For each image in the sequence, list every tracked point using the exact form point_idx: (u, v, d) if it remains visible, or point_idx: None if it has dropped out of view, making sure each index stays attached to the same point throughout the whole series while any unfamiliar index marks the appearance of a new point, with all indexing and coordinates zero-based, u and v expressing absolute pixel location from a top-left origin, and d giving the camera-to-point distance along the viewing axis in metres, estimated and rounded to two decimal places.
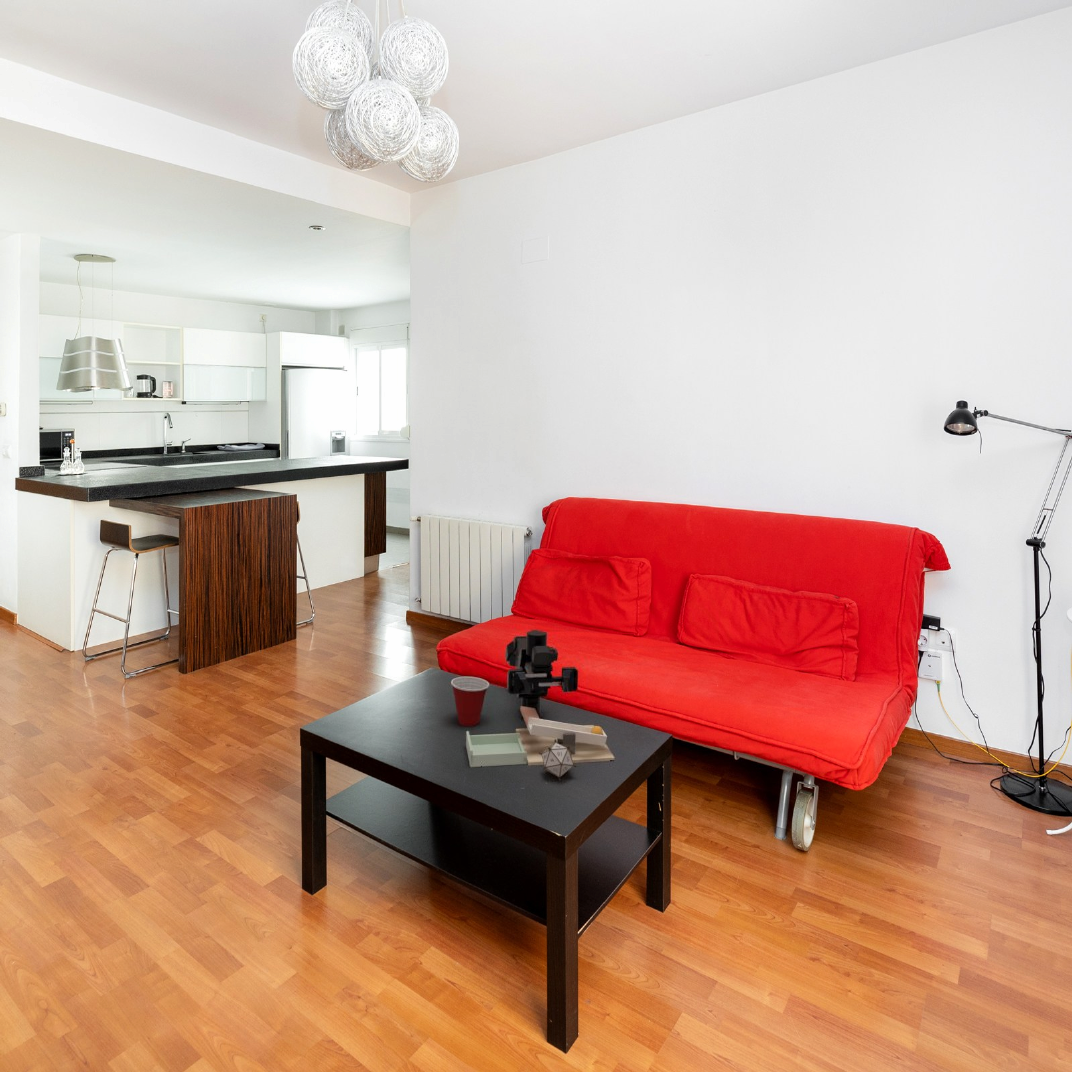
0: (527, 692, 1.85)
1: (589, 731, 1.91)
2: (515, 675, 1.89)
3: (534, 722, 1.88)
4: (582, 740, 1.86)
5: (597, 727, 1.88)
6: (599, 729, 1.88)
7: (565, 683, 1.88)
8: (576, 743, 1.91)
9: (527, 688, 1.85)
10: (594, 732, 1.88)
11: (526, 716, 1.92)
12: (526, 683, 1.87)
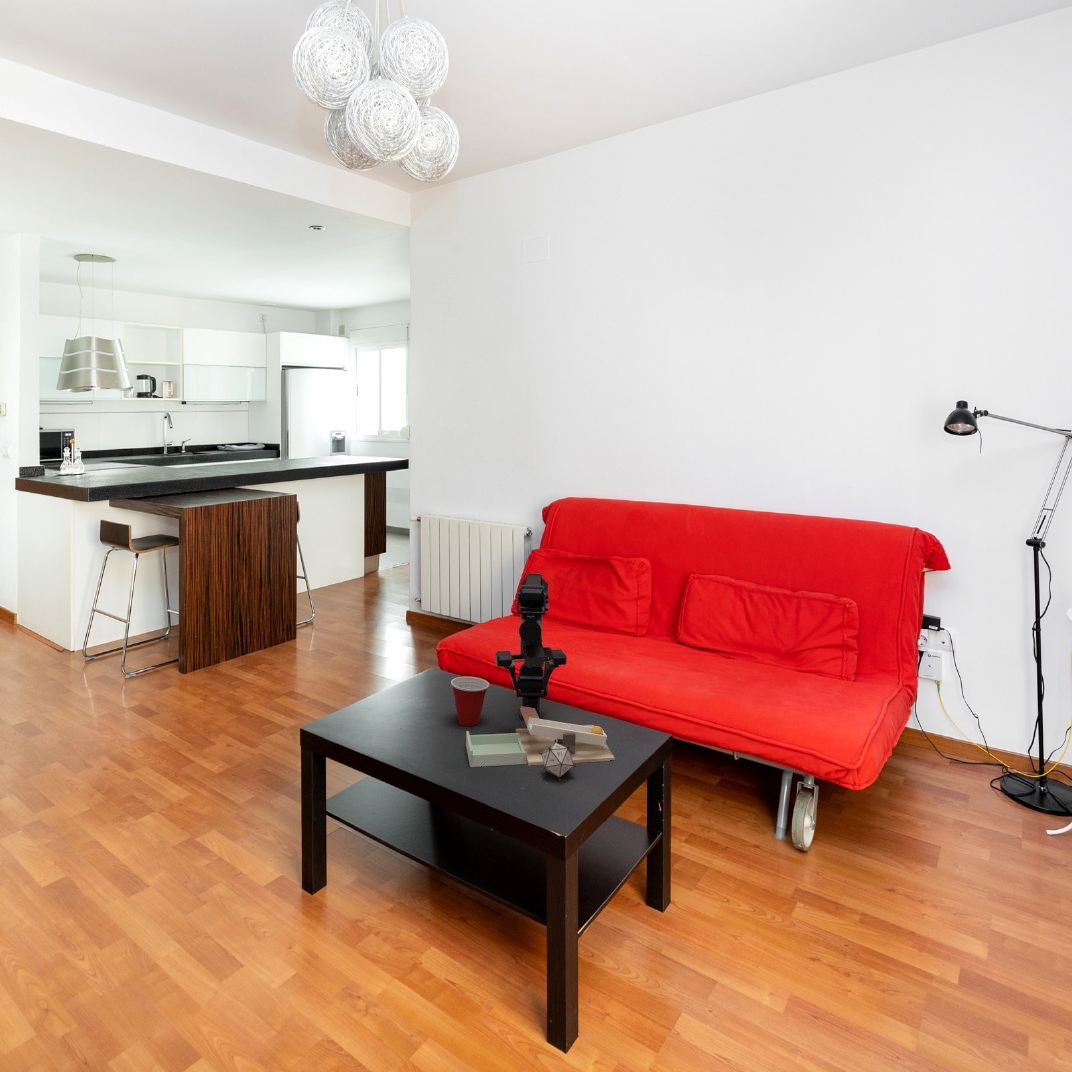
0: None
1: (589, 731, 1.91)
2: None
3: (534, 722, 1.88)
4: (582, 740, 1.86)
5: (597, 727, 1.88)
6: (599, 729, 1.88)
7: (546, 680, 1.96)
8: (576, 743, 1.91)
9: (513, 684, 1.95)
10: (594, 732, 1.88)
11: (526, 716, 1.92)
12: (513, 679, 1.94)
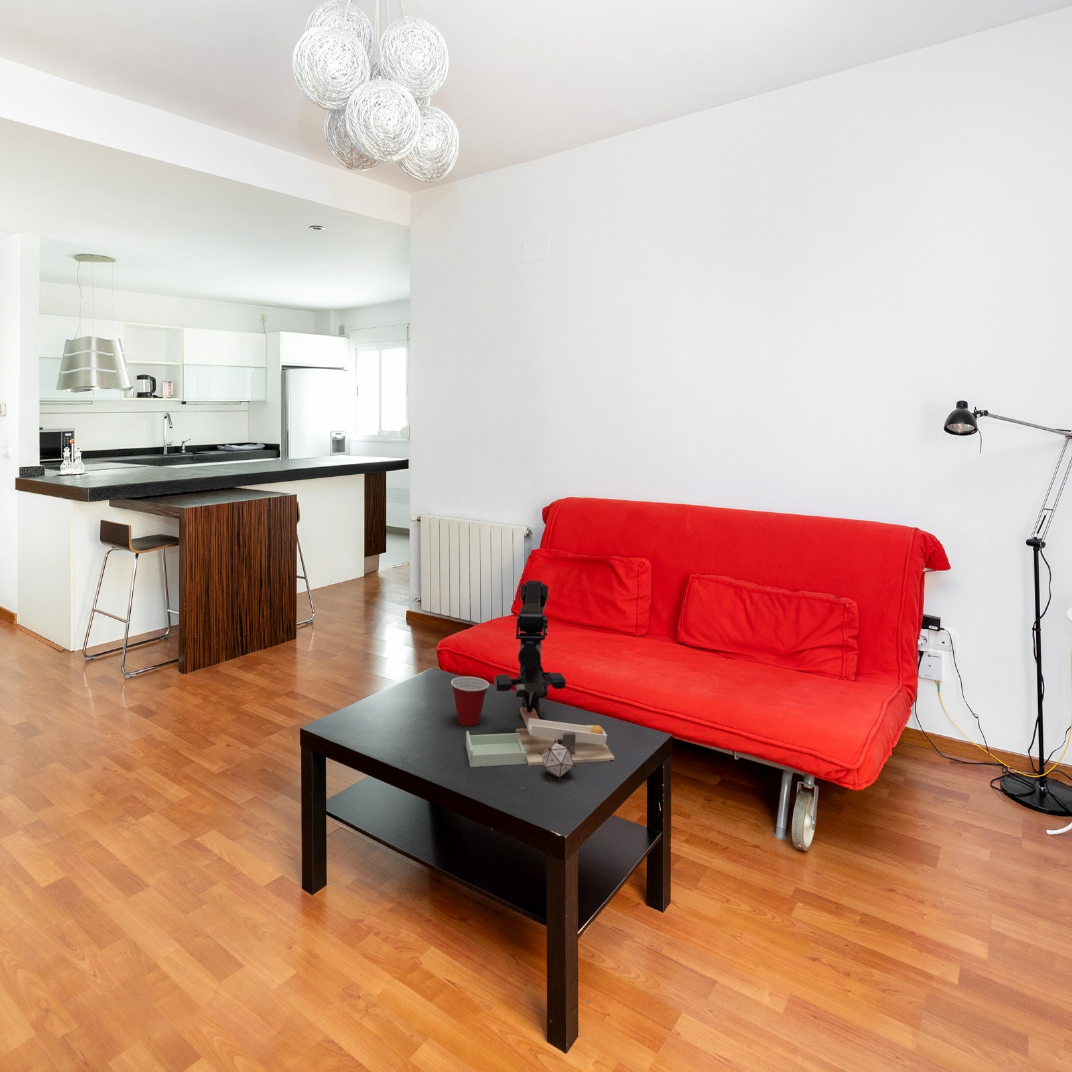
0: (525, 705, 1.97)
1: (589, 730, 1.91)
2: None
3: (534, 723, 1.88)
4: (582, 740, 1.86)
5: (597, 726, 1.88)
6: (599, 728, 1.88)
7: (531, 704, 1.96)
8: (576, 743, 1.91)
9: (526, 707, 1.96)
10: (594, 731, 1.88)
11: (526, 717, 1.92)
12: (526, 702, 1.95)
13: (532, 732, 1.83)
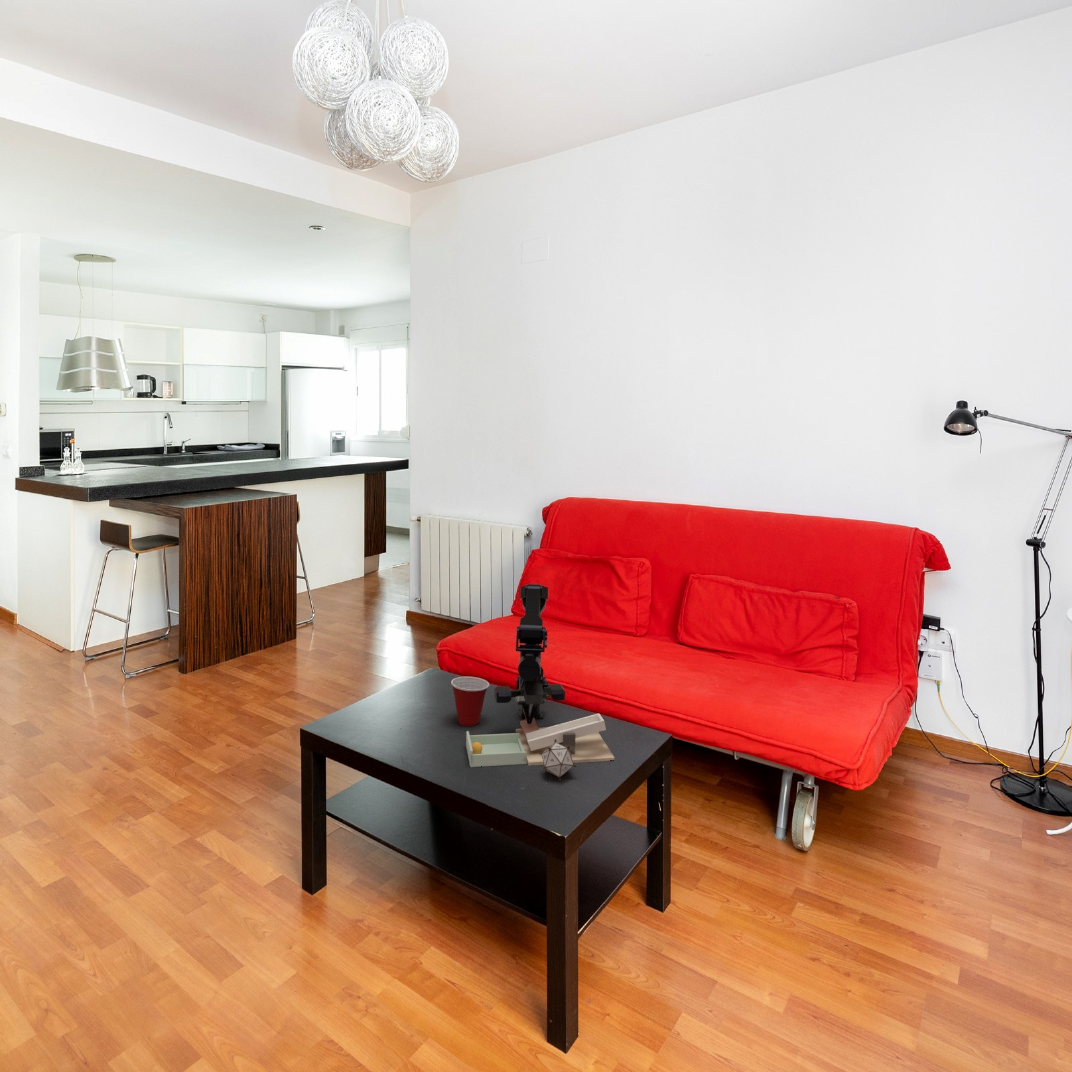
0: None
1: (587, 721, 1.90)
2: None
3: (532, 736, 1.88)
4: (582, 734, 1.86)
5: None
6: (475, 753, 1.83)
7: (531, 716, 1.96)
8: (576, 743, 1.91)
9: (526, 718, 1.97)
10: (480, 750, 1.83)
11: (525, 731, 1.93)
12: (526, 714, 1.96)
13: (531, 747, 1.84)
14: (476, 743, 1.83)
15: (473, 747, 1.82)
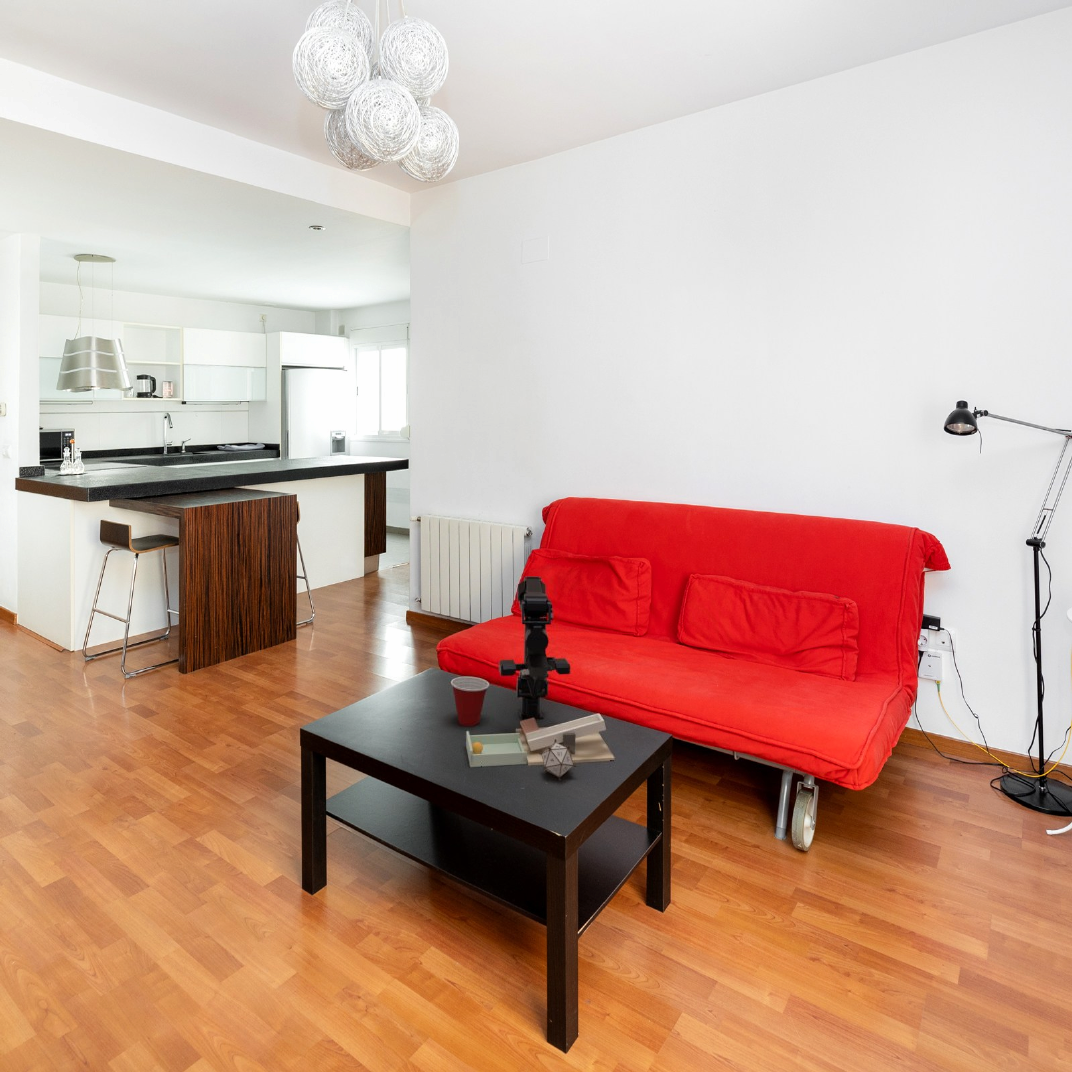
0: (530, 691, 1.97)
1: (587, 721, 1.90)
2: None
3: (532, 736, 1.88)
4: (582, 734, 1.86)
5: None
6: (475, 753, 1.83)
7: (536, 690, 1.96)
8: (576, 743, 1.91)
9: (530, 692, 1.96)
10: (481, 750, 1.83)
11: (525, 731, 1.93)
12: (531, 688, 1.95)
13: (531, 747, 1.84)
14: (477, 743, 1.83)
15: (473, 747, 1.83)
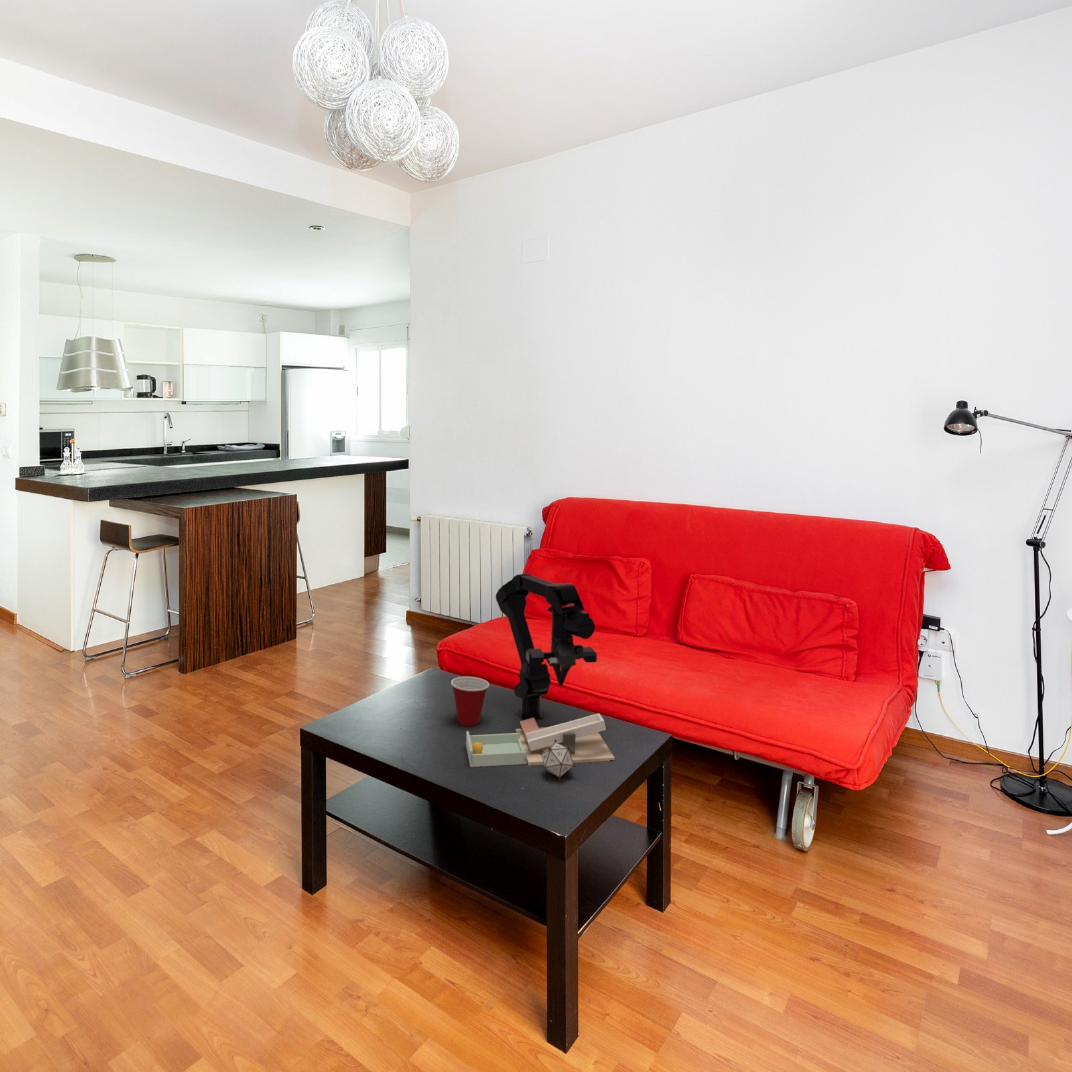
0: (557, 679, 2.00)
1: (587, 721, 1.90)
2: None
3: (532, 736, 1.88)
4: (582, 734, 1.86)
5: None
6: (475, 753, 1.83)
7: (563, 678, 1.98)
8: (576, 743, 1.91)
9: (557, 680, 1.98)
10: (481, 750, 1.83)
11: (525, 731, 1.93)
12: (558, 676, 1.98)
13: (531, 747, 1.84)
14: (477, 743, 1.83)
15: (474, 747, 1.83)
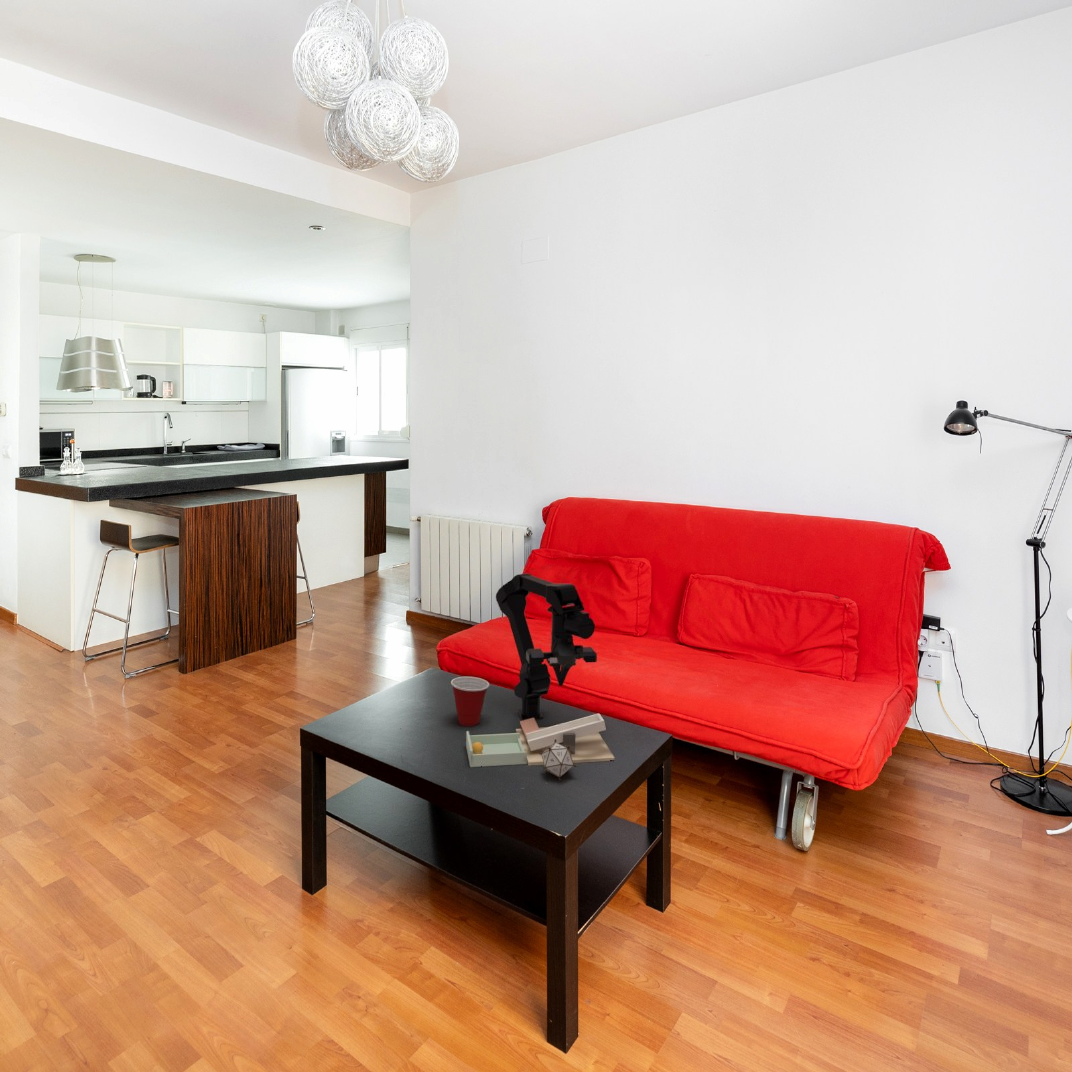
0: (557, 679, 2.00)
1: (587, 721, 1.90)
2: None
3: (532, 736, 1.88)
4: (582, 734, 1.86)
5: None
6: (476, 753, 1.83)
7: (563, 678, 1.98)
8: (576, 743, 1.91)
9: (557, 680, 1.98)
10: (481, 751, 1.83)
11: (525, 731, 1.93)
12: (558, 676, 1.98)
13: (531, 747, 1.84)
14: (477, 743, 1.83)
15: (474, 747, 1.83)
